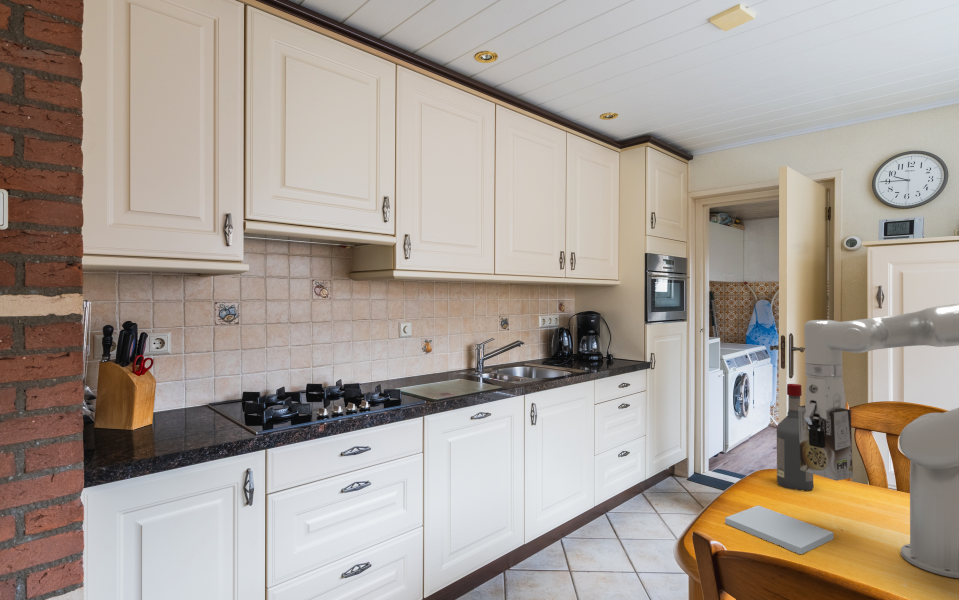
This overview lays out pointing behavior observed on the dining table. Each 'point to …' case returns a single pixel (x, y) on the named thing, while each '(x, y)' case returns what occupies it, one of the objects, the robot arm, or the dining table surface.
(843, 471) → the coffee box
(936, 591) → the dining table surface
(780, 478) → the liquor
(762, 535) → the chopping board
